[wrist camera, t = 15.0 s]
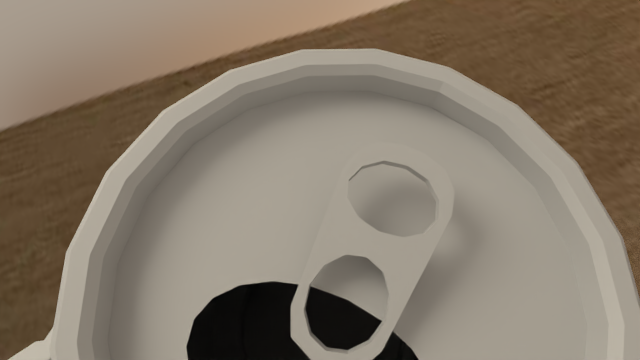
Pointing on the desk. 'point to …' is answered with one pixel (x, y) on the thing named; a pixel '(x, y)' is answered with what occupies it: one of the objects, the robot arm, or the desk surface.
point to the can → (346, 227)
